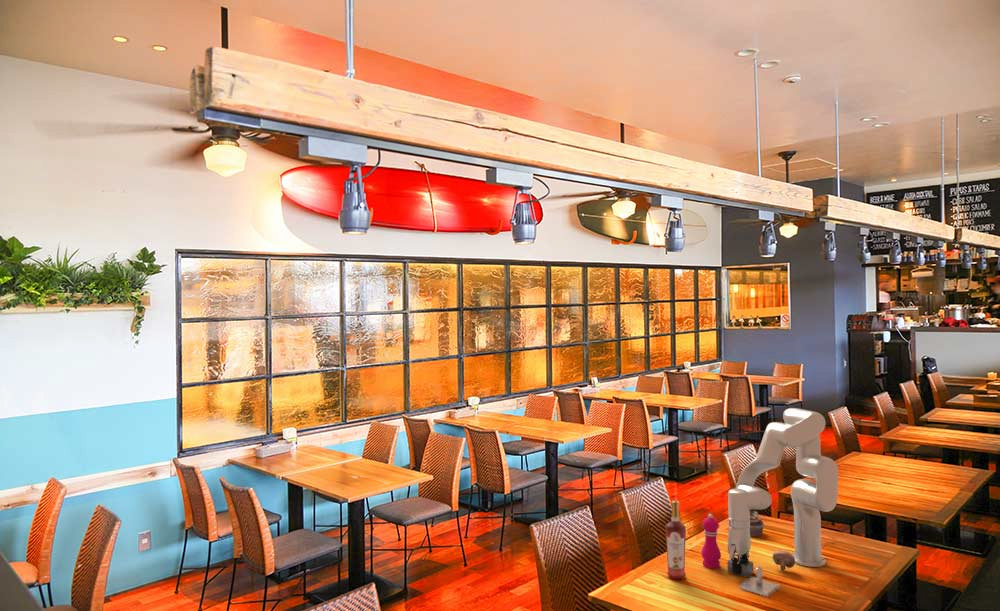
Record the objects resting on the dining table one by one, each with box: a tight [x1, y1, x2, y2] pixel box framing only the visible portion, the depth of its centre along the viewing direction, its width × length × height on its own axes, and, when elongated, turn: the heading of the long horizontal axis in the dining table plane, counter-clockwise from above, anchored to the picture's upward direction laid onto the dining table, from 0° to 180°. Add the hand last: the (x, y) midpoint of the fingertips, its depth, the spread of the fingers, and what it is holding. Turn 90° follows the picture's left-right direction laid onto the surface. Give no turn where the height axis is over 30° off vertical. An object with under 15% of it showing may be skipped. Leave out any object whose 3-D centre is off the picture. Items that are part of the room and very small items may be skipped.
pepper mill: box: [701, 513, 722, 570], centre depth 248 cm, size 7×7×20 cm
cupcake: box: [750, 509, 765, 537], centre depth 282 cm, size 10×10×10 cm
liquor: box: [665, 500, 687, 581], centre depth 238 cm, size 7×7×28 cm
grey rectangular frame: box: [727, 556, 754, 578], centre depth 241 cm, size 8×6×4 cm
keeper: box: [738, 566, 780, 598], centre depth 227 cm, size 10×10×7 cm
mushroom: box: [772, 550, 796, 572], centre depth 242 cm, size 8×6×8 cm
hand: (740, 570), depth 241 cm, fingers closed on grey rectangular frame, 5 cm apart
